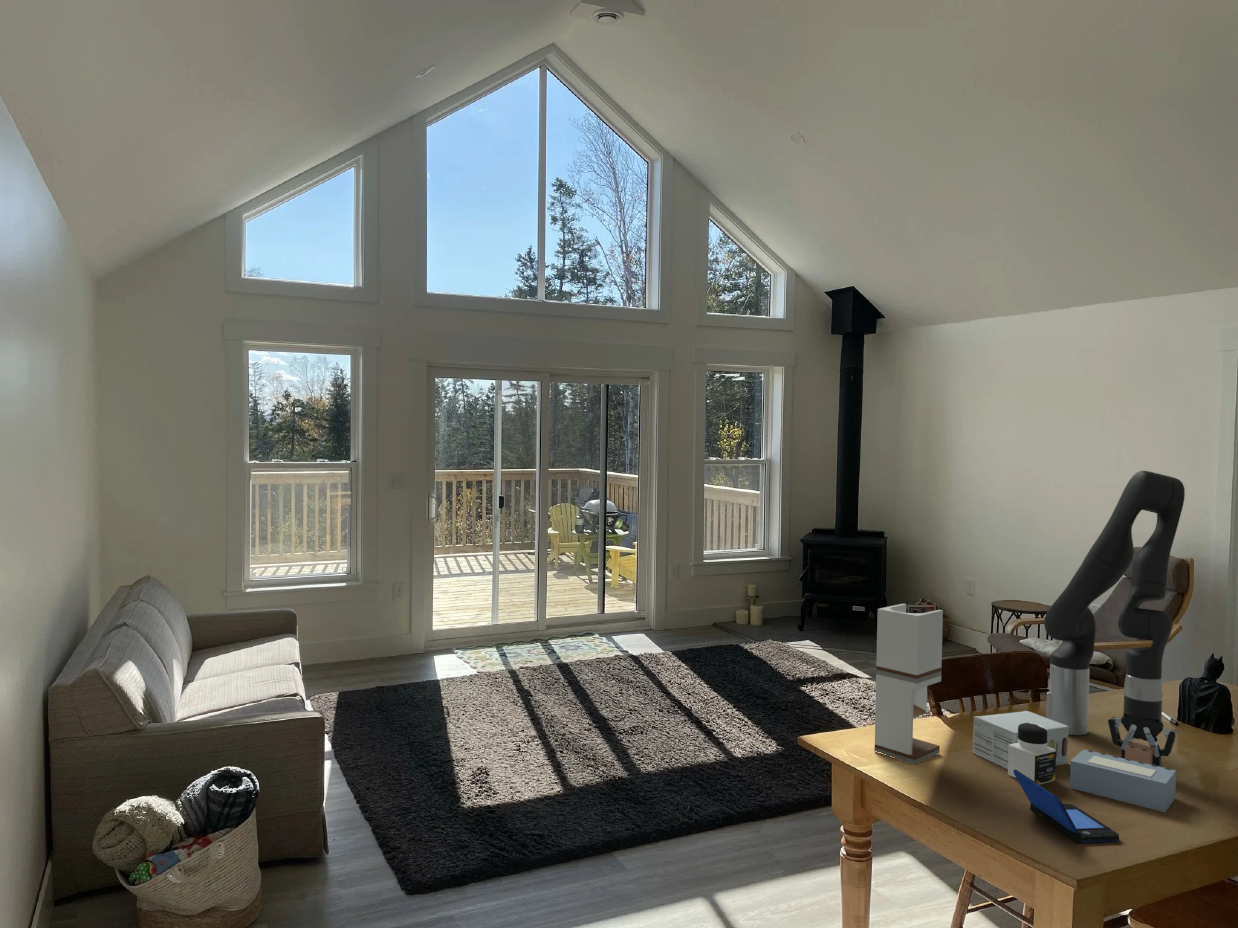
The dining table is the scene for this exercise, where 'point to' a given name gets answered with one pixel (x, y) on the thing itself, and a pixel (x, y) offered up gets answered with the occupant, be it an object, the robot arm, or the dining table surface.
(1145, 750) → the stub
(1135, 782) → the block
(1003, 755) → the supplement box
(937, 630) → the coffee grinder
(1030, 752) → the medicine bottle
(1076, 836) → the handheld game console
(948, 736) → the dining table surface
